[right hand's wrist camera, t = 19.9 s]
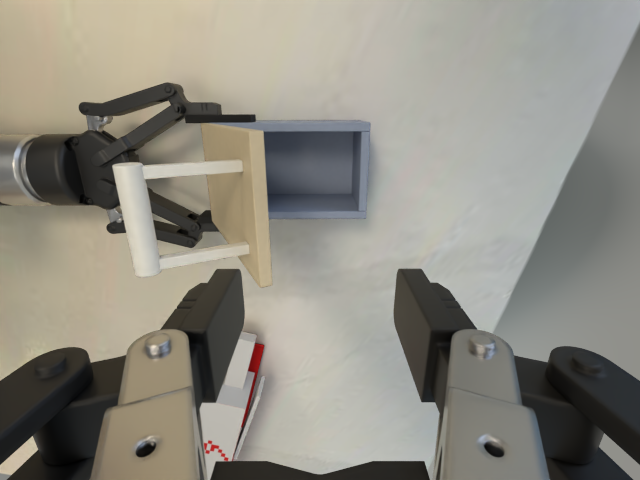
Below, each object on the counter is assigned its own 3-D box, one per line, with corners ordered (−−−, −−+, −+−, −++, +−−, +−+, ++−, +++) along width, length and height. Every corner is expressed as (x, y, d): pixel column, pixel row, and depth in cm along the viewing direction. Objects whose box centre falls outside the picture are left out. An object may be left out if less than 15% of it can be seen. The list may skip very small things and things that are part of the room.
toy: (270, 366, 43) (220, 547, 49) (279, 318, 56) (238, 466, 62) (174, 344, 42) (134, 532, 48) (205, 301, 55) (171, 453, 61)
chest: (359, 120, 42) (370, 122, 33) (357, 198, 46) (366, 218, 37) (230, 120, 42) (206, 122, 33) (237, 198, 45) (217, 219, 37)
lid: (264, 130, 19) (101, 135, 16) (273, 285, 23) (141, 316, 19) (210, 123, 33) (117, 124, 30) (220, 220, 36) (138, 231, 33)
